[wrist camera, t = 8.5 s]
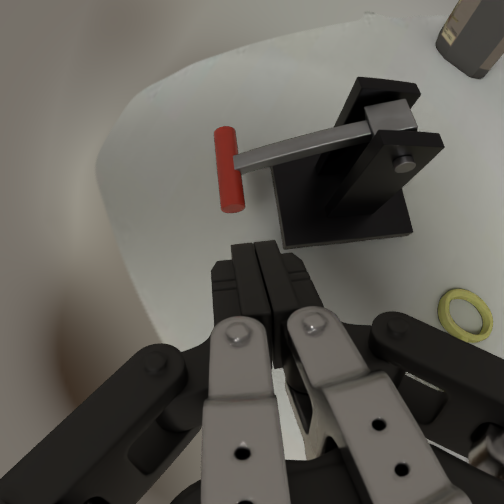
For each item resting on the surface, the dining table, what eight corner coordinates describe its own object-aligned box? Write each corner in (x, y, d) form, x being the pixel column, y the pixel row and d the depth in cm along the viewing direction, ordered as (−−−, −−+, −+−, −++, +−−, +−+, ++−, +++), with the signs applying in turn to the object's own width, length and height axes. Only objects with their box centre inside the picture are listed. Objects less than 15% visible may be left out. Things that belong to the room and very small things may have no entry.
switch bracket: (283, 249, 27) (324, 181, 15) (267, 155, 29) (289, 51, 17) (407, 236, 28) (495, 179, 16) (383, 151, 30) (445, 70, 18)
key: (427, 417, 24) (439, 421, 22) (436, 288, 27) (449, 284, 25) (479, 407, 24) (492, 410, 22) (486, 291, 27) (499, 288, 25)
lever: (230, 216, 22) (213, 206, 20) (222, 142, 23) (207, 127, 21) (424, 171, 18) (429, 154, 16) (395, 97, 19) (395, 76, 17)
